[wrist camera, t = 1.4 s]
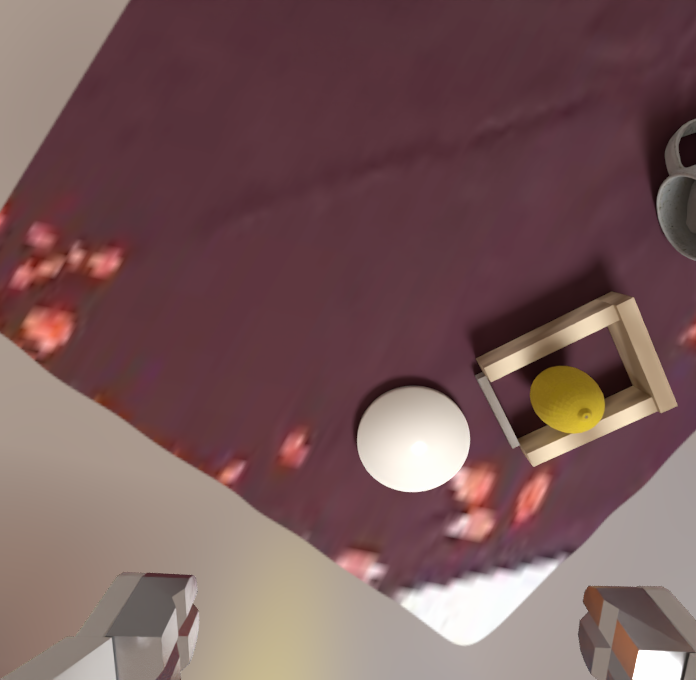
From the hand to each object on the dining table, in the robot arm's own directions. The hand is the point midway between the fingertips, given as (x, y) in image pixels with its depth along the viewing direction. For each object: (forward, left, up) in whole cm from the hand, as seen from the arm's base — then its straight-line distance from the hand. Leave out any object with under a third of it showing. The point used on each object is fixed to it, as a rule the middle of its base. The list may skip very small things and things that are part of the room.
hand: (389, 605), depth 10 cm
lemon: (-12, +15, -35) cm, 39 cm away
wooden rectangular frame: (-13, +15, -34) cm, 40 cm away
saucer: (+2, +14, -34) cm, 37 cm away
